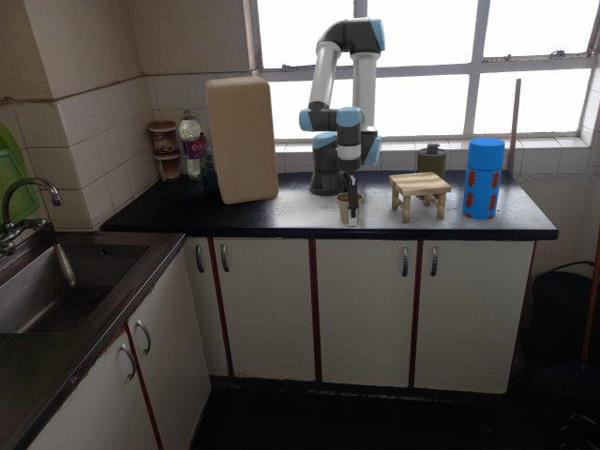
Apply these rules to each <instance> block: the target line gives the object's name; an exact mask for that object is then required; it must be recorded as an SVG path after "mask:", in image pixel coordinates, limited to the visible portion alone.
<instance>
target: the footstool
mask: <svg viewBox="0 0 600 450" xmlns="http://www.w3.org/2000/svg"><path fill="white" fill-rule="evenodd" d="M388 182H389V183H390V184H391V188H392V190H391V210H394V211H397V210H399V209H400V210H401V211H402V220H401V222H402V224H409V223H410V222H411V221H410V220H411V219H410V217H411V203H412V202H411V200H412V199H411V198H412V197H416V196H418V195H424V200H423V206H424V207H431V205H434V206H435V208H436V220H438V221H443V220H445V212H446V211H445V210H446V200H447V199H446V198H447V194H448V193H451V192H452V185H450V184H449V183H447V182H446V181H445V179H444V180H442V179H441V178H440V177H439V176H437V175H436V174H435V173H434V172H424V173H417V172H416V173H415V172H414V173H403V174H391V175H388ZM431 194H438V200H437V199H436V198H435V197H434V196H432V195H431ZM400 195H401V196H402V197H403V199H400Z"/></svg>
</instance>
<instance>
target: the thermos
mask: <svg viewBox="0 0 600 450" xmlns="http://www.w3.org/2000/svg"><path fill="white" fill-rule="evenodd" d="M505 143H506V142H505V141H504V139H503V140H502V139H499V138H493V137H479V138H478V137H476V138H473V139H471V140H470V141H469V145H468V149H467V150H468V151H467V158H466V159H467V160H466V167H465V168H466V170H465V179H464V187H463V188H464V189H463V198H462V199H463V200H462V212H461V213H462V215H463V216H465V217H467V218H470V219H472V220H483V221H484V220H490V219H493V218H494V217H495V215H496V211H497V207H498V206H497V205H498V198H499V194H500V193H499V192H500V185H501V180H502V179H501V178H502V170H503V164H504V159H505V158H504V157H505V152H506V151H505V150H506V144H505Z"/></svg>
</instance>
